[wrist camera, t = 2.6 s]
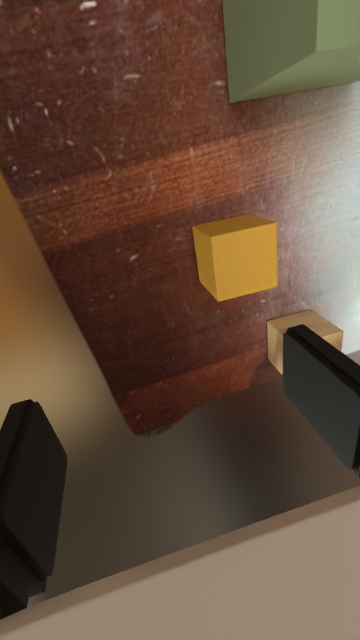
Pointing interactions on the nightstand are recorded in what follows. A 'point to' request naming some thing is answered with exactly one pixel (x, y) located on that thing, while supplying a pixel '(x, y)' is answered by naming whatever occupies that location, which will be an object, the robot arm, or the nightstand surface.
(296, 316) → the maple block
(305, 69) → the stand
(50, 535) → the robot arm
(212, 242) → the mustard block
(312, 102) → the nightstand surface
